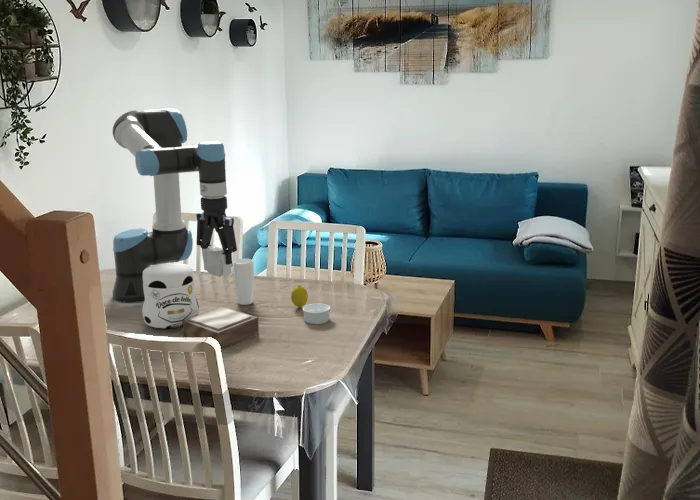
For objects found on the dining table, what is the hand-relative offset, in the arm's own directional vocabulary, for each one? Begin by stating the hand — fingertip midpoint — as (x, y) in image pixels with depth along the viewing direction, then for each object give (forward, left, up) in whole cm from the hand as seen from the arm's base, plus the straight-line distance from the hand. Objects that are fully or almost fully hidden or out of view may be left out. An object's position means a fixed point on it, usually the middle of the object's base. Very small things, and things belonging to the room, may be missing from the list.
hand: (217, 271), depth 214 cm
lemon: (+2, +33, -21) cm, 39 cm away
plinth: (0, 0, -20) cm, 20 cm away
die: (0, 0, -1) cm, 1 cm away
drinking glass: (-16, +25, -21) cm, 36 cm away
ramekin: (+14, +28, -21) cm, 38 cm away
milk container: (-20, -3, -21) cm, 29 cm away
